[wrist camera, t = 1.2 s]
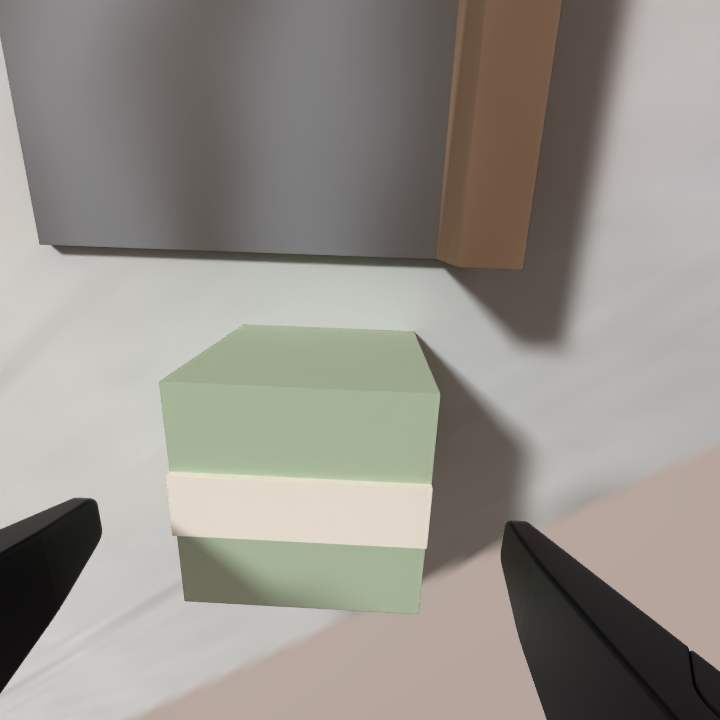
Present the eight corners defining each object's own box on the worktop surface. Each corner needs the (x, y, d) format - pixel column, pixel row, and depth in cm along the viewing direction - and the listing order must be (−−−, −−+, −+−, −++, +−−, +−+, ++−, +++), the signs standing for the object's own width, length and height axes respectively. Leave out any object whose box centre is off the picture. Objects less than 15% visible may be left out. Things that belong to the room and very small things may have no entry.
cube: (413, 330, 14) (441, 397, 8) (402, 479, 16) (419, 621, 10) (244, 323, 14) (154, 384, 9) (251, 472, 16) (181, 608, 10)
